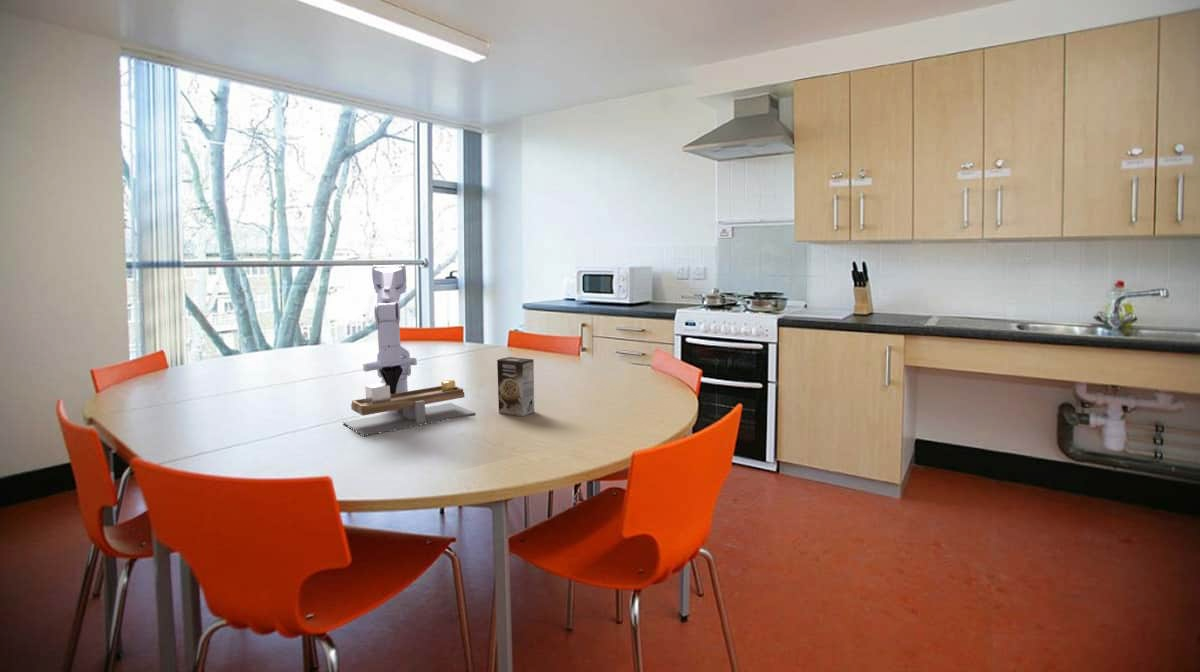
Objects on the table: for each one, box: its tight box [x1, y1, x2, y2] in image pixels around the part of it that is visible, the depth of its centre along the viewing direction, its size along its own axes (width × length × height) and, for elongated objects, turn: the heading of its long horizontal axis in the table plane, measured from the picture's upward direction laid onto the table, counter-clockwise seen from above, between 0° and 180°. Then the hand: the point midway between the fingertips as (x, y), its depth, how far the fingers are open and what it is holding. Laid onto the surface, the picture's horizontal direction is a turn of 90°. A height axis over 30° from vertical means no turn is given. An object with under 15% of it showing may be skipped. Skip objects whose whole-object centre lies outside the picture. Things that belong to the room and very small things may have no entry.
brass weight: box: [440, 379, 456, 392], centre depth 191 cm, size 4×4×3 cm
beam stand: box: [342, 400, 476, 435], centre depth 184 cm, size 16×33×6 cm, turn 129°
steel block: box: [364, 382, 391, 404], centre depth 178 cm, size 5×5×5 cm
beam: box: [350, 385, 466, 417], centre depth 184 cm, size 12×30×2 cm, turn 129°
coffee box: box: [496, 356, 535, 417], centre depth 190 cm, size 9×6×16 cm
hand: (392, 393), depth 180 cm, fingers closed
